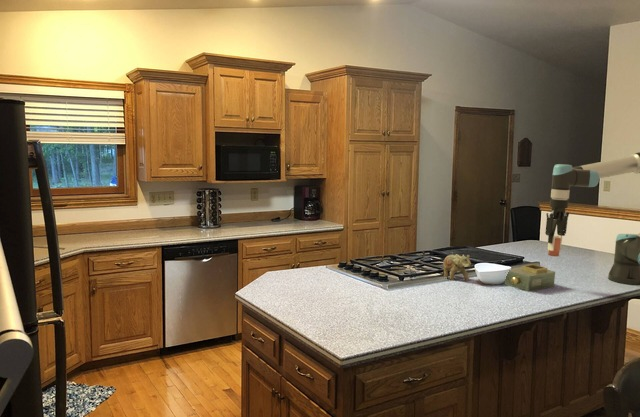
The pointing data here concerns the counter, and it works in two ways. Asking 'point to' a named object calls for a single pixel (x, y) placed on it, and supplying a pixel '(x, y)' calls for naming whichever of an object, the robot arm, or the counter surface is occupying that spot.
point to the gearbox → (530, 278)
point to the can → (555, 247)
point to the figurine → (456, 265)
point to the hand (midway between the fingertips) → (554, 249)
